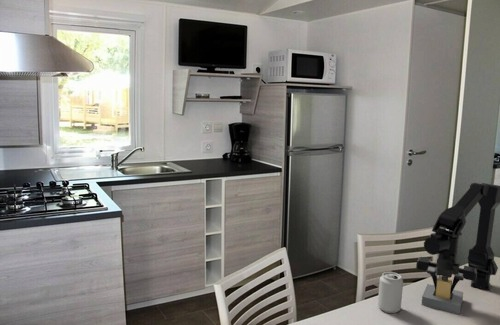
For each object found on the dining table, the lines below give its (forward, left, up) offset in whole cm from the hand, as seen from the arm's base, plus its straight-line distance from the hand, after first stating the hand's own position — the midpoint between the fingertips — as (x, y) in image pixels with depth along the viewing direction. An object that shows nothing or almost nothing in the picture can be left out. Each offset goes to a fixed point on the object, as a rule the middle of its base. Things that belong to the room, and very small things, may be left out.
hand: (443, 291), depth 154 cm
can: (+15, -15, -4) cm, 22 cm away
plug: (0, 0, -2) cm, 2 cm away
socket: (0, 0, -4) cm, 4 cm away
